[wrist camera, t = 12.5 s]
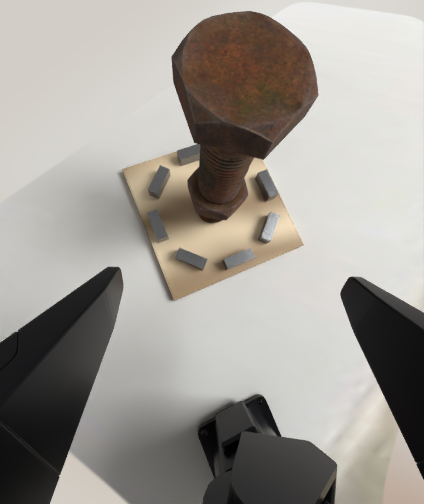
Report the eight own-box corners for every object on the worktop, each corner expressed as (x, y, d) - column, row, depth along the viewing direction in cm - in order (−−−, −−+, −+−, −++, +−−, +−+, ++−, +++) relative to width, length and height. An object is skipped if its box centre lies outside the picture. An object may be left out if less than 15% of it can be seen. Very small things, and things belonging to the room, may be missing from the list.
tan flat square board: (301, 246, 24) (303, 245, 23) (174, 300, 22) (174, 300, 21) (246, 132, 26) (247, 128, 25) (124, 172, 24) (122, 169, 23)
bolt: (245, 229, 23) (339, 119, 8) (197, 243, 22) (207, 152, 8) (226, 177, 24) (283, -8, 9) (179, 190, 23) (158, 12, 8)
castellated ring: (294, 241, 23) (300, 238, 22) (178, 290, 21) (177, 290, 20) (244, 135, 25) (246, 128, 24) (131, 173, 23) (128, 166, 22)
